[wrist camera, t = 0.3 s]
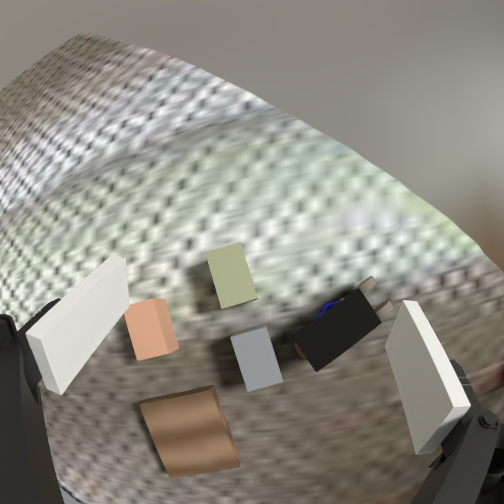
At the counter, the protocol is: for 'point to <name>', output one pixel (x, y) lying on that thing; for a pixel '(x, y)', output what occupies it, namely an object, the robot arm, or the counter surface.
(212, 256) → the olive brick
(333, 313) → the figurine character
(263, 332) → the grey brick
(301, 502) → the counter surface
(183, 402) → the walnut board
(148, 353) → the terracotta brick
